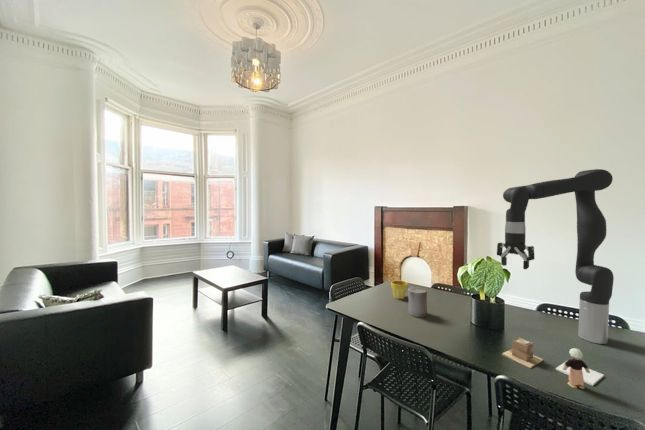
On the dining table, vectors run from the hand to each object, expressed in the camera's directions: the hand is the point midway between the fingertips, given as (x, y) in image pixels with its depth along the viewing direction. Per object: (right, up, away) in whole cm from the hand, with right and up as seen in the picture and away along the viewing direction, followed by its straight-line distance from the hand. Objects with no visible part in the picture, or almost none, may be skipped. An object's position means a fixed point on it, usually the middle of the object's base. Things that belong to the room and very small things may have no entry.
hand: (514, 267), depth 122 cm
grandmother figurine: (-3, -34, -32) cm, 47 cm away
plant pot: (-37, -30, +53) cm, 71 cm away
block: (-8, -33, -16) cm, 37 cm away
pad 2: (+5, -33, -25) cm, 42 cm away
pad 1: (-8, -33, -15) cm, 37 cm away
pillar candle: (-35, -31, +27) cm, 54 cm away
